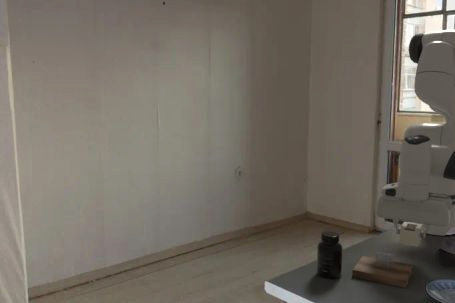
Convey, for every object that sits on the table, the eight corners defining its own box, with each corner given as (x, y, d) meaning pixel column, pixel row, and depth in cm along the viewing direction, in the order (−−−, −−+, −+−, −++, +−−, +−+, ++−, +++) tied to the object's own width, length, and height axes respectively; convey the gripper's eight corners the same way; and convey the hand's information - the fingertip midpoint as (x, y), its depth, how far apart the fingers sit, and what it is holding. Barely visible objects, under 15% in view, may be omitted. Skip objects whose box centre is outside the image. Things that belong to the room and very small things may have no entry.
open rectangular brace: (403, 235, 141) (404, 221, 140) (421, 238, 138) (422, 223, 138) (399, 243, 134) (399, 228, 134) (417, 246, 132) (418, 231, 131)
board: (362, 261, 137) (362, 255, 136) (412, 271, 130) (412, 264, 129) (352, 276, 126) (352, 269, 126) (405, 287, 119) (406, 280, 119)
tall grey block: (376, 264, 129) (377, 251, 129) (391, 267, 127) (391, 254, 127) (375, 266, 128) (375, 253, 127) (389, 269, 126) (390, 256, 125)
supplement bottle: (322, 267, 132) (324, 228, 130) (345, 273, 128) (347, 232, 126) (312, 275, 127) (314, 234, 125) (335, 282, 123) (337, 239, 121)
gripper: (453, 192, 131) (450, 238, 134) (380, 184, 141) (378, 226, 144) (451, 198, 126) (448, 245, 128) (376, 189, 136) (373, 233, 138)
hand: (410, 235), depth 136 cm, fingers closed on open rectangular brace, 5 cm apart
